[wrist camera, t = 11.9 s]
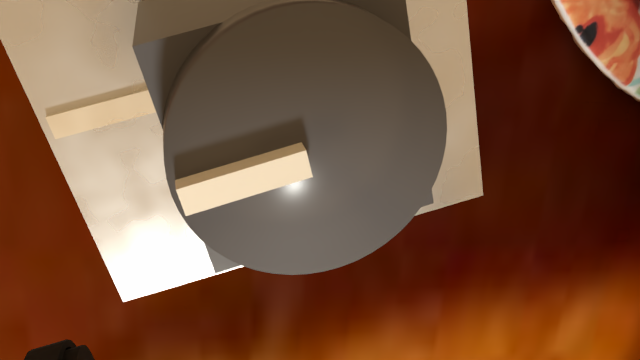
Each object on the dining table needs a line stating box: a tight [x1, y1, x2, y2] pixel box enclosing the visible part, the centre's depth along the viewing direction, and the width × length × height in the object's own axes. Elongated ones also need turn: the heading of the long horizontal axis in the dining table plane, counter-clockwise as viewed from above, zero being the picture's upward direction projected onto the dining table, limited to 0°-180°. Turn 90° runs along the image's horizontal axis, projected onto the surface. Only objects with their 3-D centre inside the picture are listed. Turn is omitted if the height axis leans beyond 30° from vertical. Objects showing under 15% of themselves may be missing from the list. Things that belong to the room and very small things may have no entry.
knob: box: [132, 0, 447, 275], centre depth 17 cm, size 7×7×8 cm
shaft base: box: [0, 0, 483, 302], centre depth 19 cm, size 15×15×7 cm
